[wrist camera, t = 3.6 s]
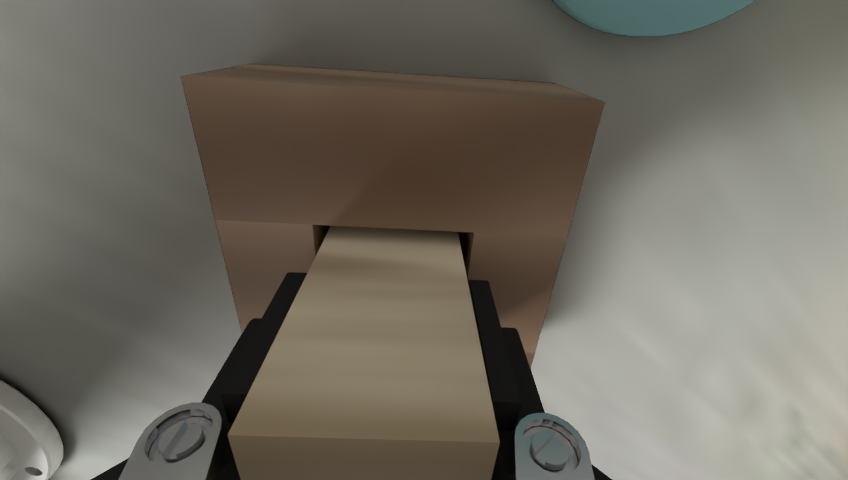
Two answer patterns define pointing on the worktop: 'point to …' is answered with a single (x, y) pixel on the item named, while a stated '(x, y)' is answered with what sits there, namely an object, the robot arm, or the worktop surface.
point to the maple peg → (373, 369)
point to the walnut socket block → (392, 172)
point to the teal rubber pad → (649, 14)
